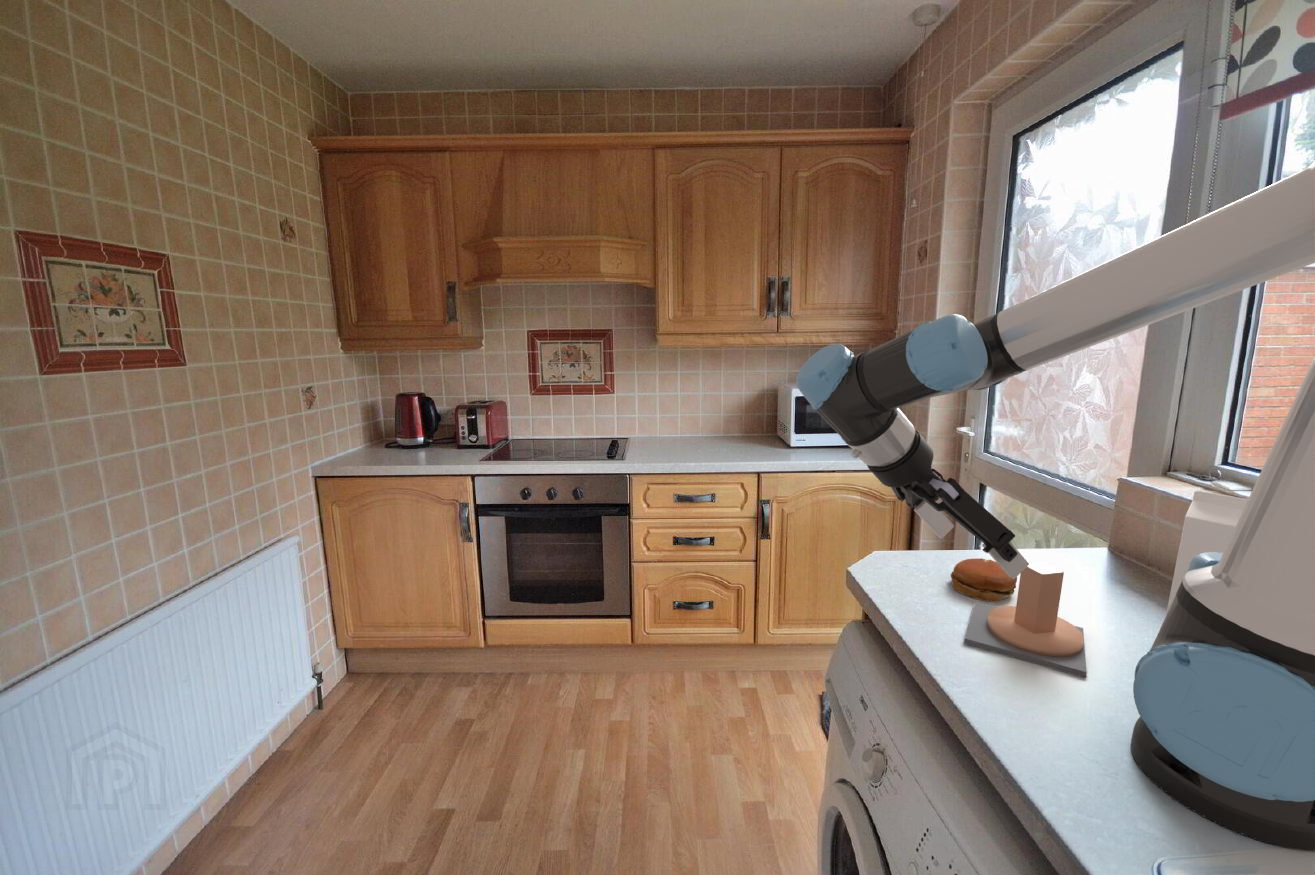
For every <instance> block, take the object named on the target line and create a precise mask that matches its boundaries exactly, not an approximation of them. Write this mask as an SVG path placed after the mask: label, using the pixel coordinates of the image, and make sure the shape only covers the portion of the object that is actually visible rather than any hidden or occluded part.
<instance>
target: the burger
mask: <svg viewBox="0 0 1315 875" xmlns="http://www.w3.org/2000/svg"><path fill="white" fill-rule="evenodd" d="M950 578H951V583H952V586H953V589H954V590H956V591H957V592H958V593H960V594H963V595H964V596H966V597H969V598H973V599H976V600H980V601H985V602H998V601H1000V600H1003V599H1006V598H1008V597H1010V596H1011V595H1013V594H1014V593H1015V589H1017V582H1018V576H1017V577H1016V578H1015V579H1012V578H1010V577H1009V576H1008V575H1007V574H1006V572H1005V571H1004V570H1003V569H1002V568H1001V567H1000V566H999V564H998V563H997V562H996V561H995V560H993V559H986V558H966V559H963V560H961V561H959V562H958V563H956V564H955V566H954V568H953V571H951V573H950Z"/></svg>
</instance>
